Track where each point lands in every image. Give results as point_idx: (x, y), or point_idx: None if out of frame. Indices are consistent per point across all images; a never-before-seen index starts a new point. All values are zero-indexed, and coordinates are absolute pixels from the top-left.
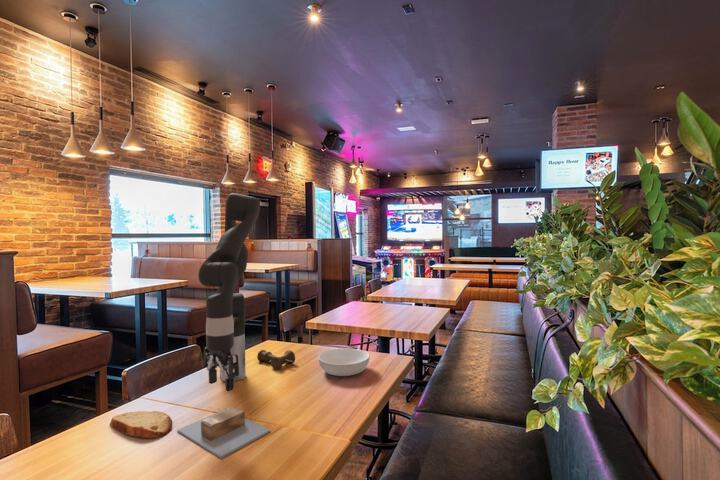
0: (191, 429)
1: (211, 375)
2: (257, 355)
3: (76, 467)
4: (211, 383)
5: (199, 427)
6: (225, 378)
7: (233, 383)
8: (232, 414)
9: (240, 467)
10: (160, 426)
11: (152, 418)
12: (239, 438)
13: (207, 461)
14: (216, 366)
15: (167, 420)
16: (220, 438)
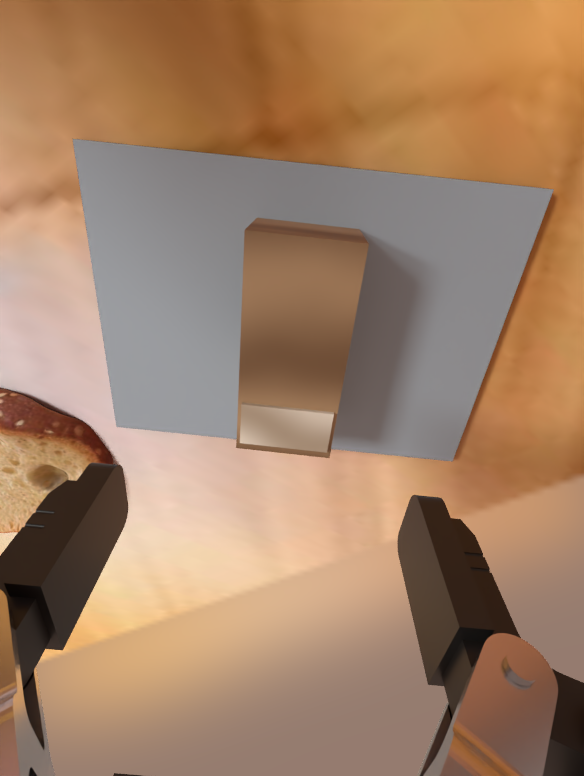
0: (162, 398)
1: (87, 585)
2: None
3: (107, 620)
4: (126, 509)
5: (173, 371)
6: (429, 684)
7: (488, 575)
8: (324, 317)
9: (560, 457)
10: (50, 460)
11: None
12: (433, 344)
13: (412, 482)
14: (14, 651)
15: (28, 437)
16: (347, 385)
